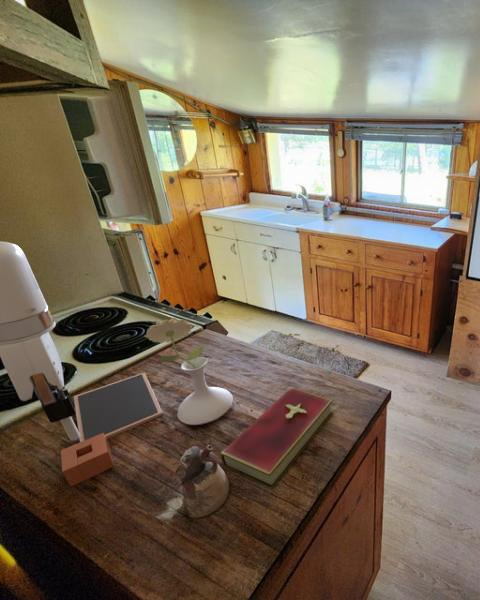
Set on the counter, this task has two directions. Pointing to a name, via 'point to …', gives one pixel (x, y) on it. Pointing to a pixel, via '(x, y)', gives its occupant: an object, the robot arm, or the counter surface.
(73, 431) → the light grey square peg
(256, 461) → the hardcover book
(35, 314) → the robot arm
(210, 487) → the figurine
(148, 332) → the flower in vase
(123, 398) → the framed chalkboard
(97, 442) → the block
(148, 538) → the counter surface
